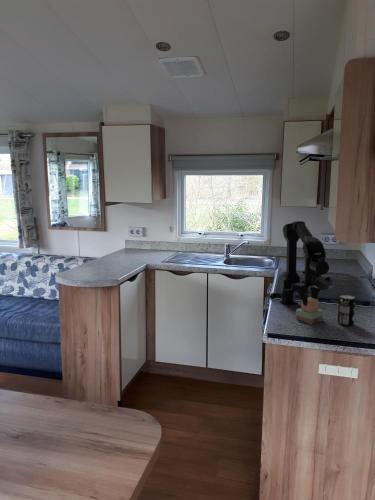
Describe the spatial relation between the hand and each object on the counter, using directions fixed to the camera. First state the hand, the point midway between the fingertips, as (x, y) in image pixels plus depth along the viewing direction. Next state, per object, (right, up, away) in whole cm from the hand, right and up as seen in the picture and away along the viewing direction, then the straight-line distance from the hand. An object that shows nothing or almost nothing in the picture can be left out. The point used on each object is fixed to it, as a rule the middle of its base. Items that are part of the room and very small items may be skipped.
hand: (309, 304), depth 170 cm
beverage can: (+14, -8, -4) cm, 17 cm away
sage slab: (0, -5, +1) cm, 5 cm away
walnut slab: (0, -7, +1) cm, 8 cm away
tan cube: (0, -3, 0) cm, 2 cm away
